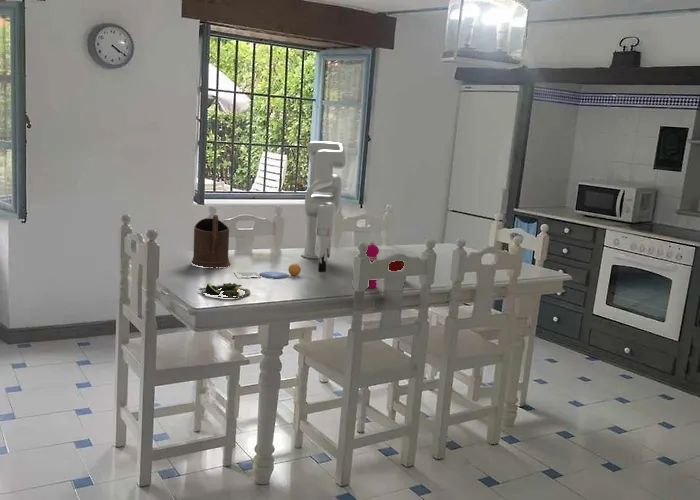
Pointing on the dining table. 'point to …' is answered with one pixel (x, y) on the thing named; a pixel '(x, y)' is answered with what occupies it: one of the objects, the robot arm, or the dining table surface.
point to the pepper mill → (372, 255)
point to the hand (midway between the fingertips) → (321, 271)
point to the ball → (294, 269)
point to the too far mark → (249, 274)
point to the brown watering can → (211, 243)
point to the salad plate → (228, 290)
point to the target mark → (274, 275)
